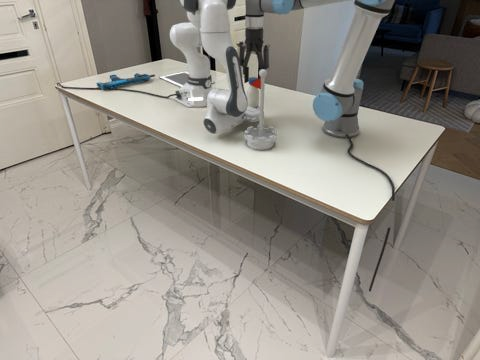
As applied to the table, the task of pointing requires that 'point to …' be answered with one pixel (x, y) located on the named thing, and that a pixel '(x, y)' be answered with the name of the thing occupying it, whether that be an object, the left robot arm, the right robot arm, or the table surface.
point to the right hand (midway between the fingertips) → (253, 83)
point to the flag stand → (260, 122)
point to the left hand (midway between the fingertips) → (253, 106)
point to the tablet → (177, 78)
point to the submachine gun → (124, 81)
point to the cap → (252, 80)
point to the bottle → (253, 97)
